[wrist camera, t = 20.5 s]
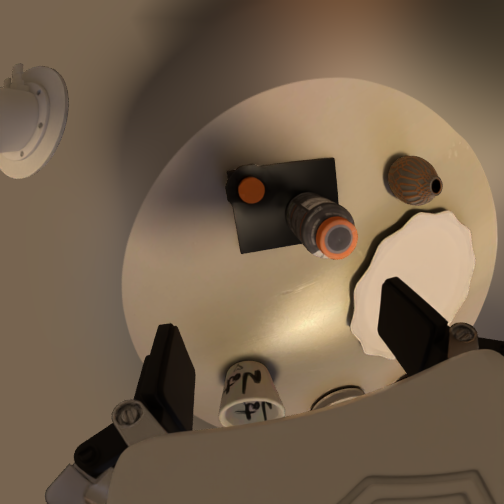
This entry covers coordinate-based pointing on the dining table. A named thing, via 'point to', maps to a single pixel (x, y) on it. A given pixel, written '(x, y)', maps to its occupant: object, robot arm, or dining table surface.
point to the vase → (414, 180)
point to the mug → (249, 395)
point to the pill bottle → (322, 226)
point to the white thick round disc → (338, 397)
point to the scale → (277, 199)
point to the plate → (416, 272)
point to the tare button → (251, 190)
